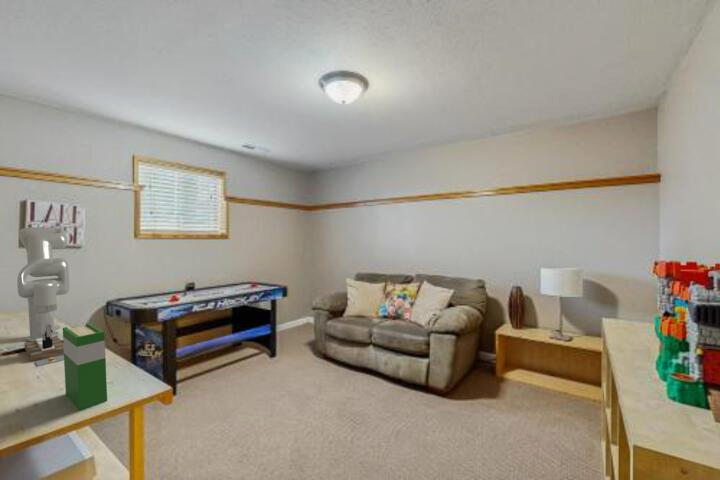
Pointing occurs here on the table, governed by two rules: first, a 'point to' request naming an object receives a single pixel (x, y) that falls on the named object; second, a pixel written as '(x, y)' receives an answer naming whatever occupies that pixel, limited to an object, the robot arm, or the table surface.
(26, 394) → the table surface
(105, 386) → the hardback book
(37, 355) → the button board
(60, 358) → the card
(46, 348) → the button
